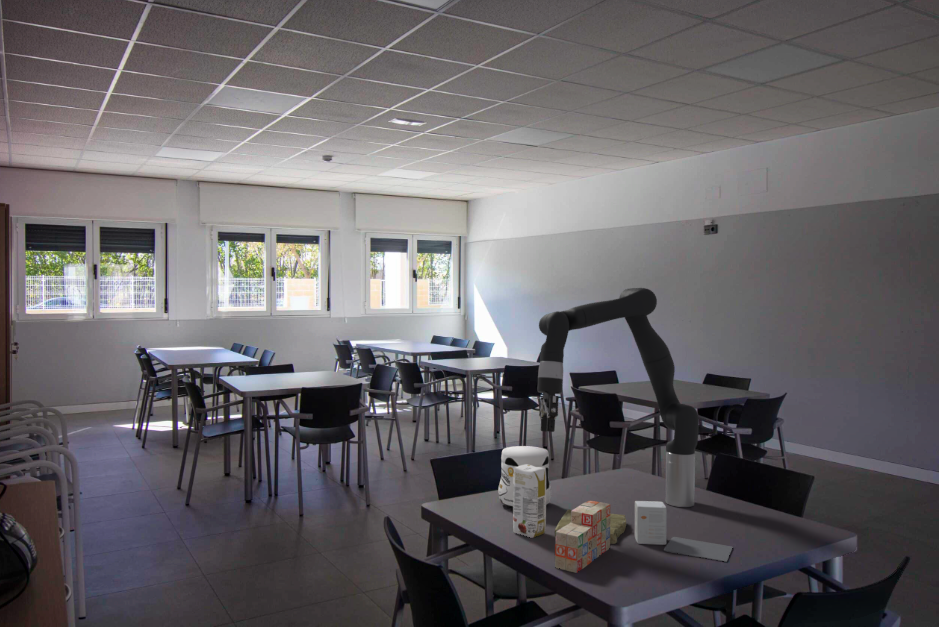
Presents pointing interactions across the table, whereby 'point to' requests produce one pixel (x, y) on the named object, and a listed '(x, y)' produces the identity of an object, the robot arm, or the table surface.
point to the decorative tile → (615, 525)
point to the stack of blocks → (583, 536)
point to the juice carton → (529, 500)
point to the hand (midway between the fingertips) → (547, 431)
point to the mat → (698, 549)
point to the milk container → (517, 458)
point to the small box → (650, 522)
